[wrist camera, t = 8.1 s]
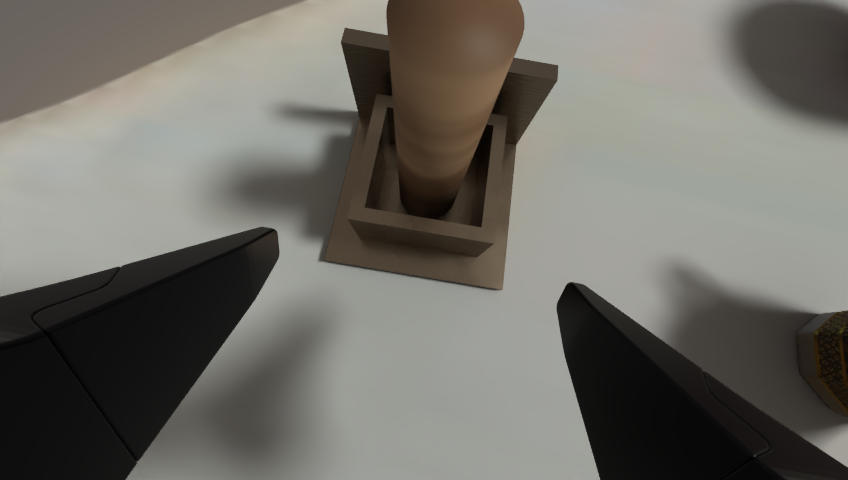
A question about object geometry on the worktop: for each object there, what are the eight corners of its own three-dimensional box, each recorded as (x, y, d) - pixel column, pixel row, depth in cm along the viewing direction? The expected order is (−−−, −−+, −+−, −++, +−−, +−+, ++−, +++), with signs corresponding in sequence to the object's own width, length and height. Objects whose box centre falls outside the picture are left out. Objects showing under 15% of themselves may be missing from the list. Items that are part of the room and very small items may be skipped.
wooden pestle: (451, 223, 21) (518, 84, 8) (394, 213, 21) (373, 59, 8) (459, 171, 22) (529, -24, 9) (405, 162, 22) (400, -47, 9)
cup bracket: (499, 290, 20) (545, 278, 14) (326, 261, 20) (285, 234, 13) (514, 137, 23) (558, 65, 17) (363, 111, 23) (345, 27, 16)
